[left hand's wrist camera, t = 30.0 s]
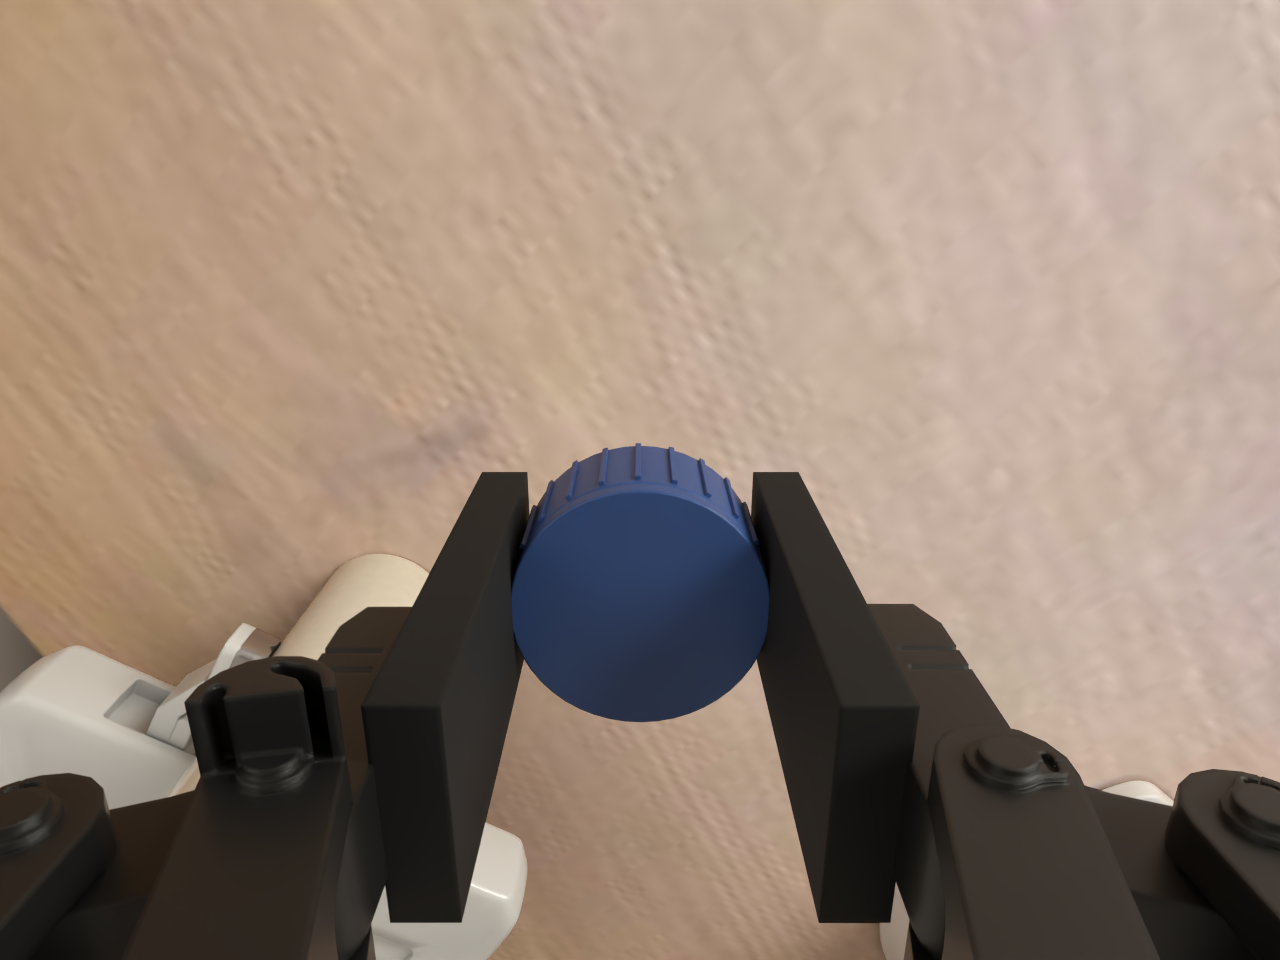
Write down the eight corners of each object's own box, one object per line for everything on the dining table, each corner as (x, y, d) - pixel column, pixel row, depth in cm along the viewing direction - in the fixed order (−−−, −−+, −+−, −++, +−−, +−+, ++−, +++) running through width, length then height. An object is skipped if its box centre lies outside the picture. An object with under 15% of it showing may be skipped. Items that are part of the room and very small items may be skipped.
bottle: (296, 594, 36) (-56, 1038, 18) (393, 530, 35) (124, 931, 17) (378, 683, 38) (132, 1174, 19) (473, 624, 37) (308, 1084, 18)
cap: (736, 663, 15) (751, 738, 13) (515, 640, 15) (496, 712, 13) (775, 456, 14) (798, 504, 12) (532, 427, 14) (514, 472, 12)
